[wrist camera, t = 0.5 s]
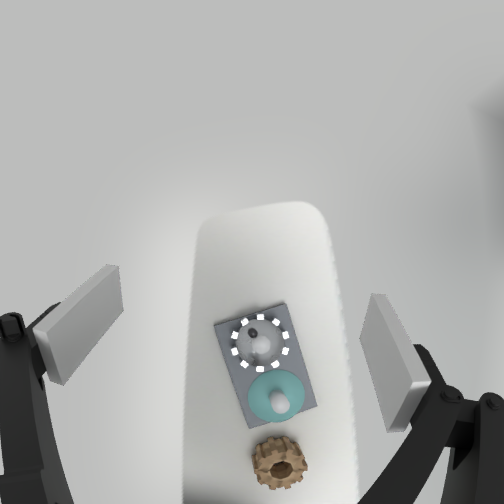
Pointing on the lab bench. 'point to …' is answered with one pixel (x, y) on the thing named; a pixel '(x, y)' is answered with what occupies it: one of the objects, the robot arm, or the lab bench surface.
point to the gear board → (268, 374)
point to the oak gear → (282, 472)
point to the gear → (251, 331)
